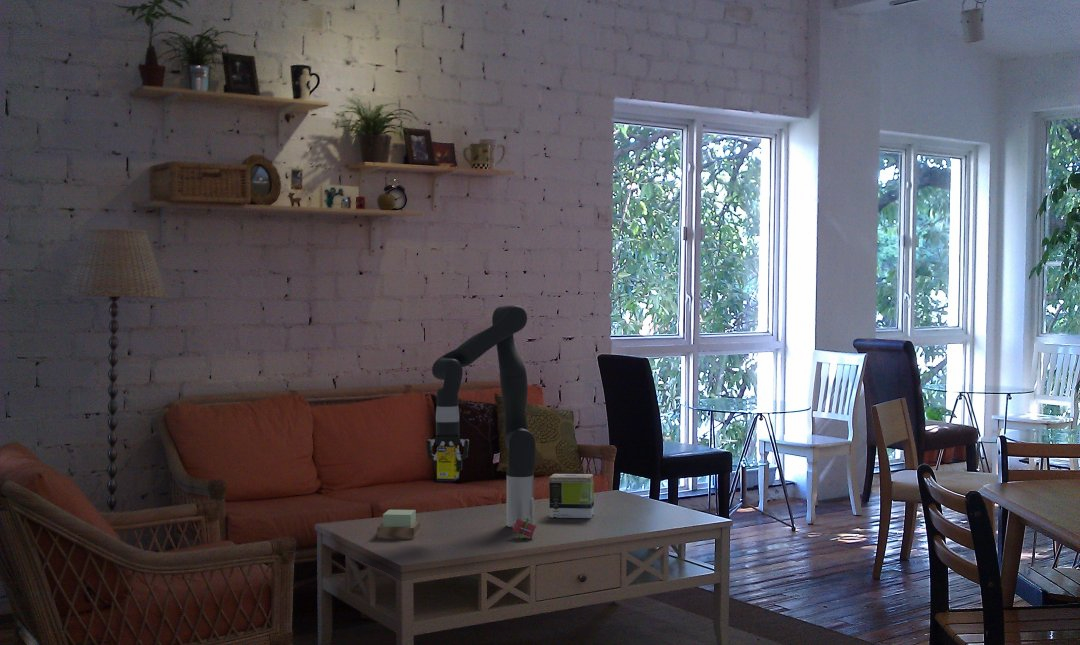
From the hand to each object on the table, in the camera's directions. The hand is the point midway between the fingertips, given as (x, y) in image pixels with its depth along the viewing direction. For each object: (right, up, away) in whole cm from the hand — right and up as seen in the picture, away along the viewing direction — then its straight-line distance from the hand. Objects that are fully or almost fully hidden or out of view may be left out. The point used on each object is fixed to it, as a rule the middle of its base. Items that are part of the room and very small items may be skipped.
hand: (448, 471), depth 350 cm
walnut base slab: (-16, -22, +3) cm, 27 cm away
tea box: (+41, -21, +38) cm, 60 cm away
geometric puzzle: (+25, -21, -3) cm, 33 cm away
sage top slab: (-16, -18, +3) cm, 24 cm away
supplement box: (0, -3, 0) cm, 3 cm away
